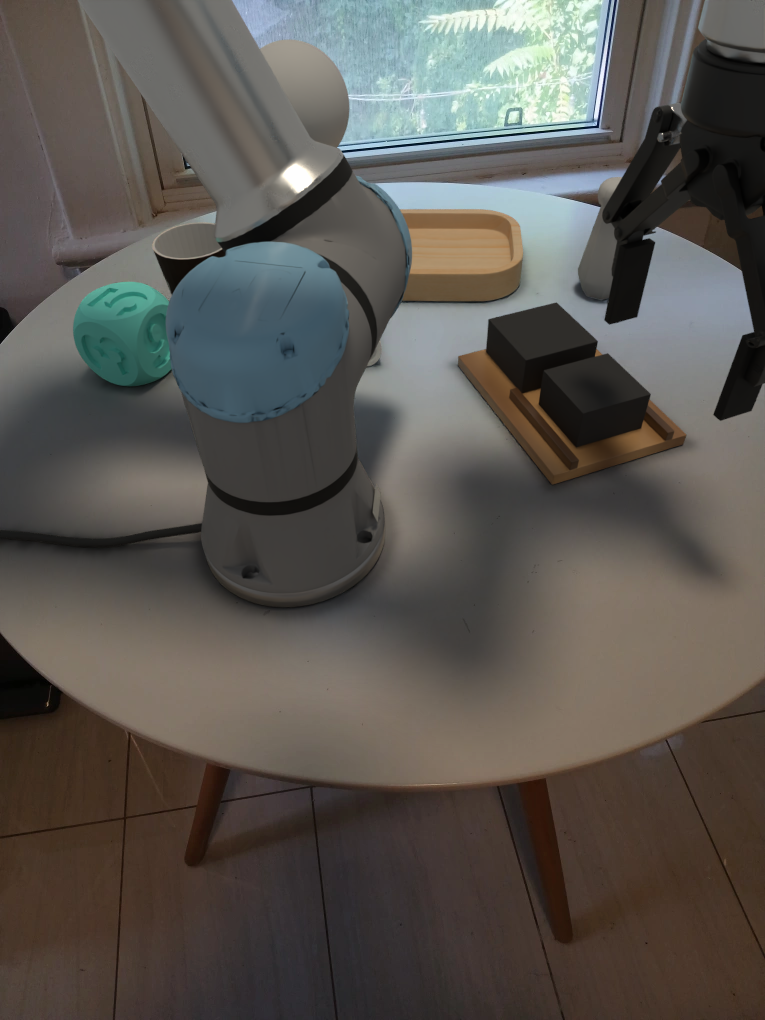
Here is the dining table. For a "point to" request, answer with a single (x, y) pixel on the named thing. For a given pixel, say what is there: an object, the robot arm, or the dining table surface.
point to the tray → (547, 438)
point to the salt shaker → (599, 250)
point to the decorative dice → (124, 333)
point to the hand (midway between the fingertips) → (671, 362)
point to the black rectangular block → (593, 399)
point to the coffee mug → (185, 250)
